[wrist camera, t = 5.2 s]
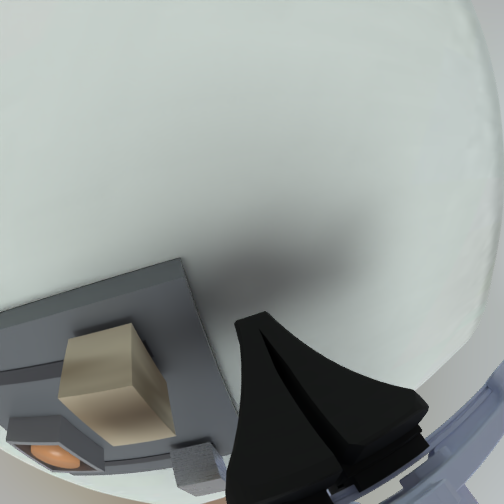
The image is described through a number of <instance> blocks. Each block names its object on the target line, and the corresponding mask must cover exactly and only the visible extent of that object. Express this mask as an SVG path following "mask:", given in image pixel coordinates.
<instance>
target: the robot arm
mask: <svg viewBox="0 0 504 504" xmlns="http://www.w3.org/2000/svg"><path fill="white" fill-rule="evenodd" d="M234 325H235V328H236V332H237V336H238V340H239V344H240V352H241V399H240V409H239V418H238V424H237V430H236V435H235V440H234V445H233V450H232V454H231V457H230V461H229V465H228V468H227V472H226V489H225V493H226V501H227V504H360V503H359V502H354V501H355V500H357V499H358V498H360V497H362V496H364V495H366V494H368V493H369V492H371V491H373V490H375V489H376V488H378V487H379V486H381V485H383V484H385V483H386V482H388V481H389V480H391V479H392V478H394V477H395V476H397V475H398V474H400V473H401V472H403V471H404V470H406V469H407V468H409V467H410V466H412V465H413V464H414V463H416V462H417V461H418V460H420V459H421V458H422V457H424V456H425V455H426V454H428V453H429V454H428V460H427V461H425V462H424V463H423V464H421V465H420V466H419V467H417V468H416V469H415V470H413V471H412V472H411V473H409V474H408V475H406V476H405V477H404V478H402V479H401V480H400V483H401V485H402V486H403V489H401V490H400V491H398V492H397V493H395V494H394V495H392V496H391V497H389V498H387V499H386V500H384V501H382V502H381V503H379V504H478V502H477V501H476V499H475V498H474V497H473V495H472V494H471V492H470V491H469V490H468V488H467V487H466V486H465V483H466V481H467V480H468V479H469V478H470V477H471V476H472V474H474V472H475V471H476V470H477V469H478V468H479V467H480V465H481V464H482V463H483V461H484V460H485V459H486V458H487V457H488V455H489V454H490V453H491V451H492V450H493V449H494V447H495V446H496V445H497V443H498V442H499V440H500V439H501V438H502V436H503V435H504V360H503V361H502V363H501V364H500V365H499V366H498V367H497V368H496V370H495V371H494V372H493V373H492V375H491V376H490V377H489V378H488V380H487V381H486V383H485V384H484V385H483V387H482V388H481V389H480V390H479V391H478V392H477V393H476V394H475V395H474V396H473V397H472V398H471V399H470V400H469V401H468V402H467V403H466V404H465V405H464V406H462V407H461V408H460V409H459V410H458V411H457V412H456V413H455V414H454V415H453V416H452V417H450V418H449V419H448V420H447V421H446V422H445V423H444V424H442V425H441V426H440V427H439V428H438V429H436V430H435V431H434V432H433V433H431V434H430V435H429V436H428V437H426V438H425V439H424V438H423V436H422V435H421V434H420V433H421V432H422V429H421V428H420V426H419V425H418V423H419V422H420V421H421V420H422V418H423V417H424V416H425V415H426V413H427V411H428V408H429V406H428V405H427V403H426V402H425V401H424V400H423V399H422V398H421V397H420V395H418V394H417V393H416V392H415V391H414V390H412V389H407V388H403V387H398V386H394V385H390V384H387V383H384V382H380V381H377V380H374V379H371V378H369V377H366V376H364V375H361V374H359V373H356V372H354V371H351V370H349V369H347V368H345V367H343V366H341V365H339V364H337V363H335V362H333V361H331V360H330V359H328V358H326V357H324V356H323V355H321V354H319V353H318V352H316V351H315V350H313V349H312V348H310V347H309V346H307V345H306V344H304V343H303V342H302V341H300V340H299V339H298V338H296V337H295V336H294V335H293V334H291V333H290V332H289V331H288V330H286V329H285V328H284V327H283V326H282V325H281V324H279V323H278V322H277V321H276V320H275V319H274V318H273V317H272V316H271V315H270V314H269V313H268V312H266V311H264V312H261V313H258V314H255V315H252V316H249V317H246V318H243V319H240V320H237V321H236V322H235V323H234Z"/></svg>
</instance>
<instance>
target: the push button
mask: <svg viewBox="0 0 504 504" xmlns="http://www.w3.org/2000/svg"><path fill="white" fill-rule="evenodd" d="M31 453H32V454H33V455H34V456H35V457H36V458H38V459H39V460H41V461H43V462H45V463H48V464H50V465H53V466H57V467H61V468H70V469H72V468H78V467H79V466H80V460H79V459H78V458H76V457H75V456H73V455H72V454H70V453H69V452H67V451H66V450H64V449H63V448H61V447H60V446H59V445H31Z"/></svg>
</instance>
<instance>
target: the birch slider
mask: <svg viewBox="0 0 504 504" xmlns="http://www.w3.org/2000/svg"><path fill="white" fill-rule="evenodd" d="M58 399H59V400H60V401H61V402H62V403H63V404H64V405H65V406H66V407H67V408H68V409H69V410H70V411H72V412H73V413H74V414H75V415H76V416H77V417H78V418H79V419H80V420H82V421H83V422H84V423H85V424H86V425H87V426H89V427H90V428H91V429H92V430H93V431H95V432H96V433H97V434H98V435H99V436H101V437H102V438H103V439H105V440H106V441H107V442H108V443H110V444H111V445H112V446H121V445H129V444H136V443H142V442H148V441H154V440H159V439H165V438H170V437H174V436H176V433H175V428H174V423H173V417H172V412H171V406H170V401H169V395H168V389H167V382H166V381H165V379H164V377H163V376H162V374H161V373H160V371H159V369H158V368H157V366H156V365H155V363H154V361H153V360H152V358H151V356H150V355H149V353H148V351H147V350H146V348H145V346H144V344H143V343H142V341H141V339H140V337H139V336H138V334H137V332H136V330H135V328H134V326H133V325H132V323H129V324H125V325H121V326H118V327H114V328H110V329H106V330H102V331H99V332H95V333H91V334H87V335H83V336H79V337H75V338H71V339H68V344H67V348H66V353H65V358H64V363H63V368H62V374H61V380H60V386H59V393H58Z"/></svg>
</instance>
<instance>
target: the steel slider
mask: <svg viewBox="0 0 504 504" xmlns="http://www.w3.org/2000/svg"><path fill="white" fill-rule="evenodd" d="M169 452H170V457H171V461H172V466H173V470H174V475H175V479H176V483H177V487H178V488H180V489H182V490H184V491H186V492H188V493H190V494H192V495H194V496H202V495H207V494H211V493H216V492H220V491H225V489H226V472H227V470H226V467H225V464H224V461H223V458H222V456H221V455H220V454H219V453H218V452H217V450H216V449H215V448H214V447H213V446H212V444H211V443H210V442H206V443H202V444H198V445H194V446H190V447H185V448H180V449H175V450H170V451H169Z"/></svg>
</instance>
